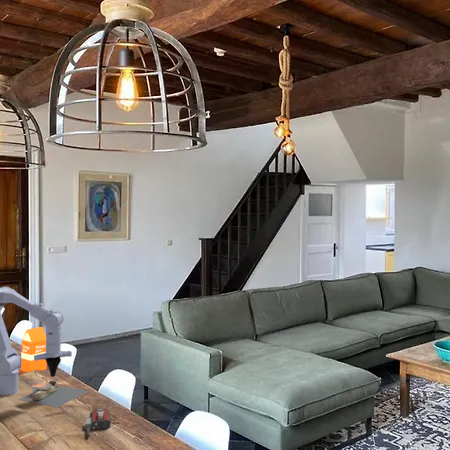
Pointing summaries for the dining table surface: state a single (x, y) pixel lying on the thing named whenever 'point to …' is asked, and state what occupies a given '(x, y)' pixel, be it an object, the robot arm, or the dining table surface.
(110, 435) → the dining table surface
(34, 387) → the block
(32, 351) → the orange juice
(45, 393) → the link
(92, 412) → the walkie-talkie
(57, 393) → the board
